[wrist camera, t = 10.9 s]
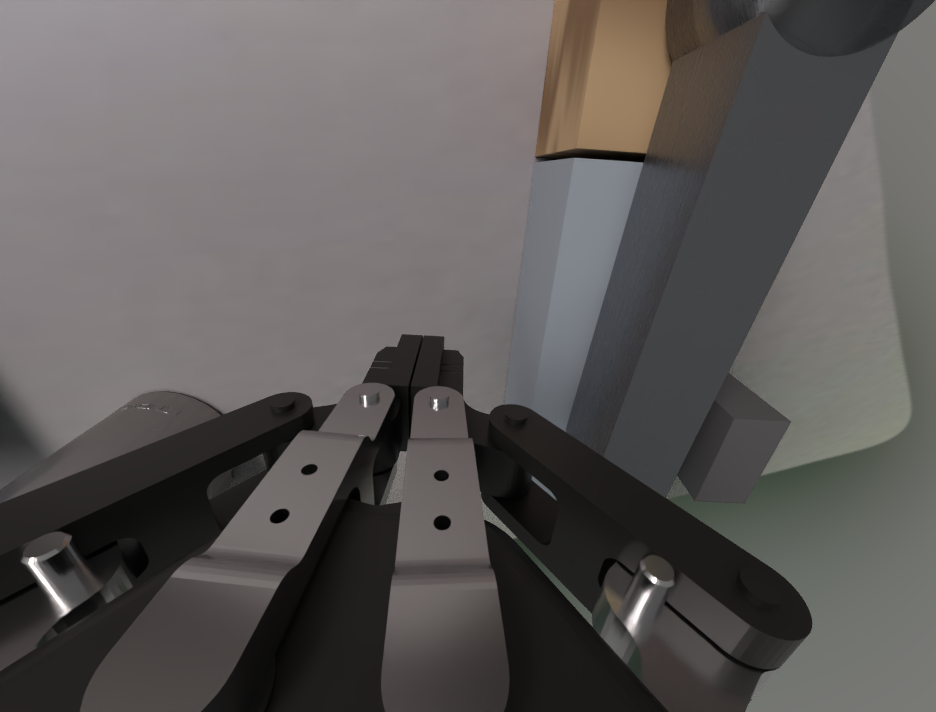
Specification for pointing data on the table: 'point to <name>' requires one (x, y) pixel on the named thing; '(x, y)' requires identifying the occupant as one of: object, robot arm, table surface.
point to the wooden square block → (603, 79)
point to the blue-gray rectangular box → (576, 313)
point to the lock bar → (720, 208)
